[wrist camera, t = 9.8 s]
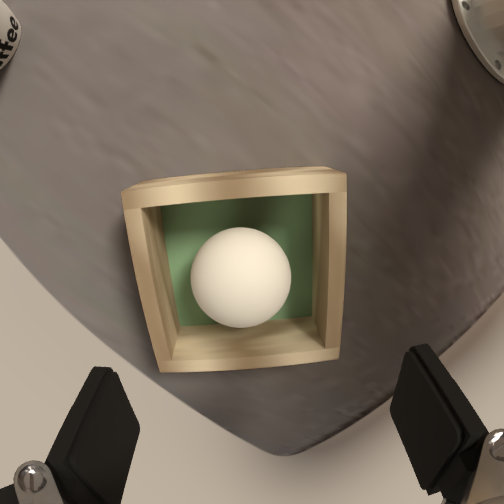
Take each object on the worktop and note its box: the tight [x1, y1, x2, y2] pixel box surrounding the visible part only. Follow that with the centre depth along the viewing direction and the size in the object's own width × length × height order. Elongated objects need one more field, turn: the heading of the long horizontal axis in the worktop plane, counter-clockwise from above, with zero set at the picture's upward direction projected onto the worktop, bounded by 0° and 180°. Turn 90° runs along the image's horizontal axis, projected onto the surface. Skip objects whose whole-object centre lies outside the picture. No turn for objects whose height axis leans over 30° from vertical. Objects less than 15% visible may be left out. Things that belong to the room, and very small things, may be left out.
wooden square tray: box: [121, 166, 347, 372], centre depth 20 cm, size 12×12×4 cm
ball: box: [190, 227, 291, 328], centre depth 20 cm, size 6×6×6 cm
